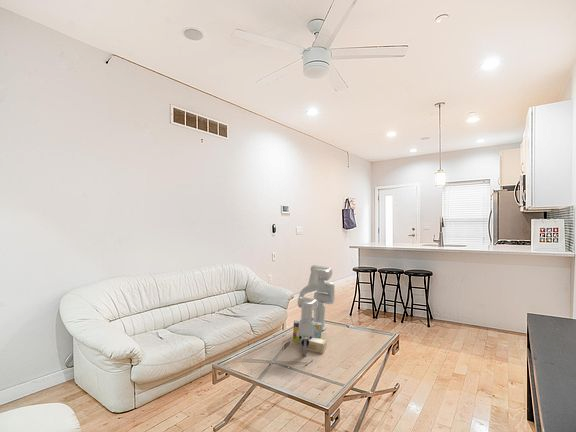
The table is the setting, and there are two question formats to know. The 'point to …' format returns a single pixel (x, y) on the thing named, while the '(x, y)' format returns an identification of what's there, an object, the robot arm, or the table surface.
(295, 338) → the snack box
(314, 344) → the carton
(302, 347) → the flap
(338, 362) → the table surface
